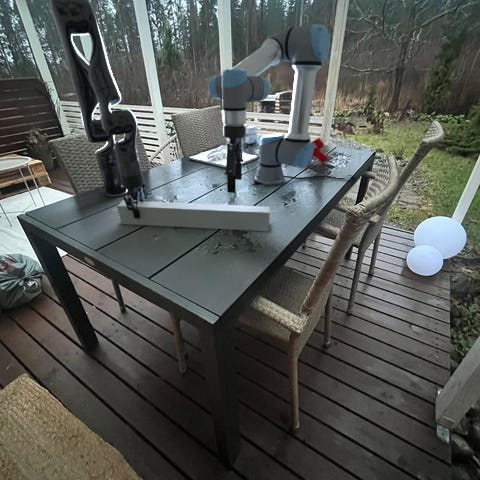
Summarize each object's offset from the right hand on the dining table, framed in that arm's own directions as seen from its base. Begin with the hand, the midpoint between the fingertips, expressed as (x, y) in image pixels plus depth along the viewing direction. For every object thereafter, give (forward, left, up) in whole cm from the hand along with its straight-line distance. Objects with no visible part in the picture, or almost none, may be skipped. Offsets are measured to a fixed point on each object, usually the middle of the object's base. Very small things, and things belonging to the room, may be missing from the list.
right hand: (234, 185), depth 101 cm
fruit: (-13, -124, -14) cm, 125 cm away
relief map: (+35, -77, -14) cm, 85 cm away
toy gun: (-20, -86, -14) cm, 89 cm away
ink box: (+30, -125, -14) cm, 129 cm away
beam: (+14, +9, -14) cm, 22 cm away
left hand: (+34, +13, -11) cm, 38 cm away
